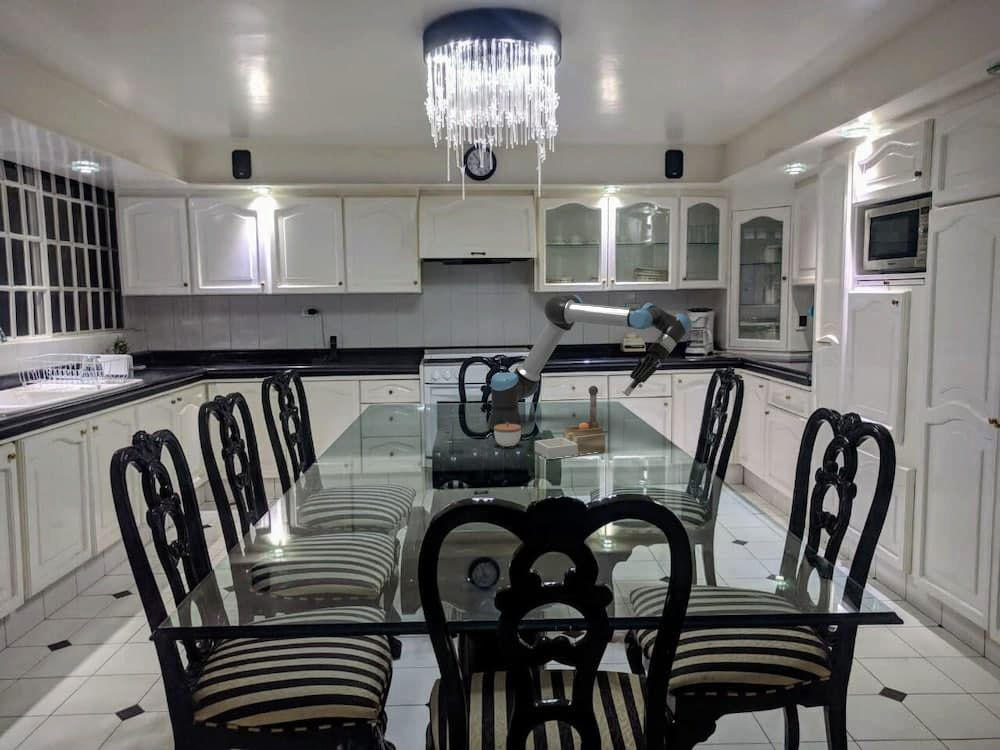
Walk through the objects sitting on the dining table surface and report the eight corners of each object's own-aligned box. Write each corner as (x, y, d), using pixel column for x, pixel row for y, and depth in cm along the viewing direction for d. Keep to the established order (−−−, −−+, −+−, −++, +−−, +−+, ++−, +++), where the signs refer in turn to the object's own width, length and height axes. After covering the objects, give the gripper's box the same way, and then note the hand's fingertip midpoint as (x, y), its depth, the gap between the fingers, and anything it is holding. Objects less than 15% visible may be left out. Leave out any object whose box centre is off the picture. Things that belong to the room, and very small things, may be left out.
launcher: (563, 449, 281) (563, 426, 279) (590, 445, 285) (590, 423, 284) (577, 455, 271) (577, 432, 269) (605, 452, 275) (605, 428, 274)
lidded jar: (498, 450, 281) (497, 426, 279) (491, 443, 291) (490, 420, 289) (524, 447, 284) (524, 424, 282) (516, 441, 294) (516, 418, 292)
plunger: (586, 430, 280) (586, 385, 277) (594, 429, 281) (594, 384, 278) (592, 432, 276) (592, 387, 273) (600, 431, 277) (600, 386, 274)
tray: (534, 452, 276) (534, 440, 276) (562, 448, 281) (562, 437, 280) (549, 460, 266) (548, 448, 265) (577, 456, 270) (577, 444, 269)
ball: (576, 432, 278) (576, 422, 277) (585, 431, 279) (586, 420, 279) (582, 434, 274) (582, 424, 274) (591, 433, 276) (591, 423, 275)
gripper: (677, 356, 280) (640, 402, 276) (657, 352, 291) (621, 397, 287) (666, 343, 277) (628, 390, 273) (646, 340, 288) (610, 385, 284)
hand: (625, 393), depth 280 cm, fingers closed
